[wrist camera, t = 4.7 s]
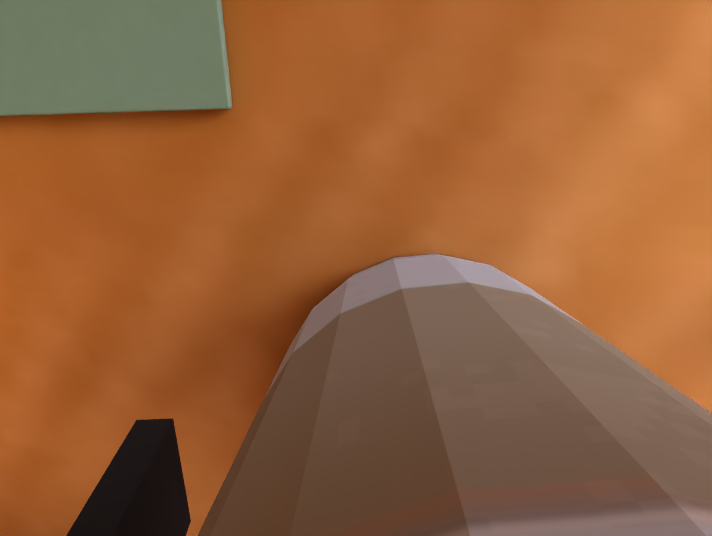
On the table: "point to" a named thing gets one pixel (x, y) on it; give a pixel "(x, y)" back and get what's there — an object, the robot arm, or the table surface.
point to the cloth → (112, 56)
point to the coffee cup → (463, 421)
